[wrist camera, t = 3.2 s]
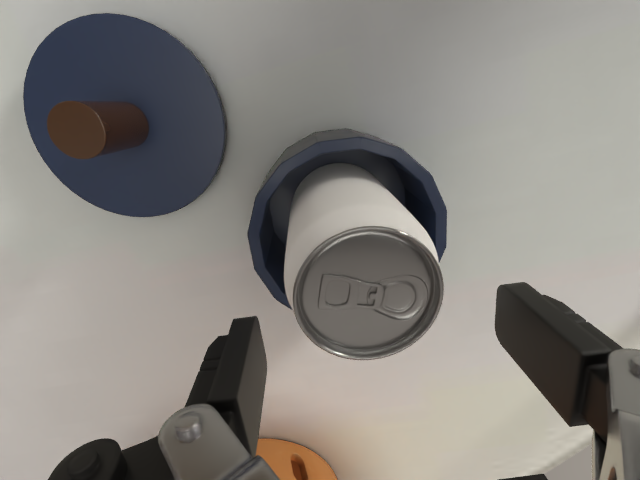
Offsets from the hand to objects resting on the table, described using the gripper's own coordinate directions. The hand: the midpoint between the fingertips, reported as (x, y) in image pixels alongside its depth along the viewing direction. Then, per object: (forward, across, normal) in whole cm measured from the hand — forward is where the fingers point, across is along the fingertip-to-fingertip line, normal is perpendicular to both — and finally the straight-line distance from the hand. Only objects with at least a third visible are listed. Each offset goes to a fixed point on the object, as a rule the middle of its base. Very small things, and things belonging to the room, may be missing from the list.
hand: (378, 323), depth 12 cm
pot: (+14, 0, 0) cm, 14 cm away
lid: (+13, +12, -7) cm, 19 cm away
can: (+14, 0, 0) cm, 14 cm away
